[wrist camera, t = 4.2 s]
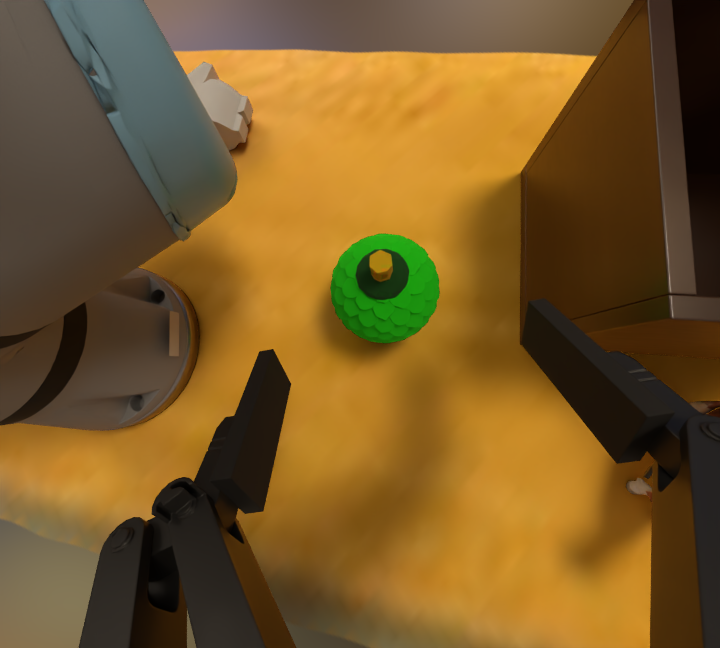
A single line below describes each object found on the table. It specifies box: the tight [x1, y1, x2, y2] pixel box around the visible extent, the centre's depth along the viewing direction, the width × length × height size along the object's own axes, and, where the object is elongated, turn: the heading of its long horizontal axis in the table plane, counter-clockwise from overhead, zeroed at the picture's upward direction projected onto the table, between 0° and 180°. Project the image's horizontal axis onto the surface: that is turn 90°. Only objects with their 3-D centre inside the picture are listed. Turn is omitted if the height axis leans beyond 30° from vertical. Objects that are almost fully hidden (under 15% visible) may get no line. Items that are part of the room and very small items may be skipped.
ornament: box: [330, 234, 440, 343], centre depth 20 cm, size 8×8×10 cm
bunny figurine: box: [187, 62, 253, 150], centre depth 28 cm, size 10×5×15 cm
